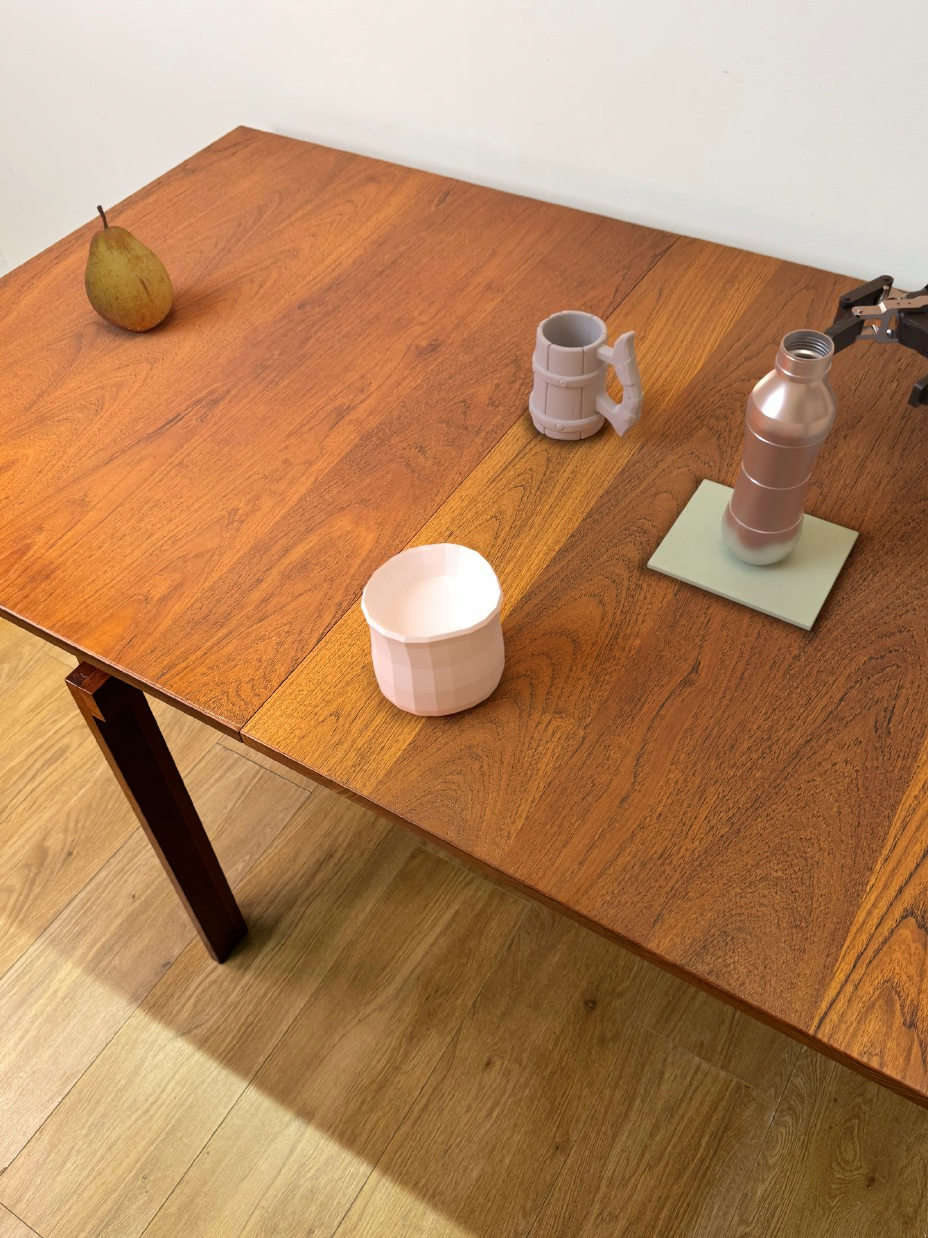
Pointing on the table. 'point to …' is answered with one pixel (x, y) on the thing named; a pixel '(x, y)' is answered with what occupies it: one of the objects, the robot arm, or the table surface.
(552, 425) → the mug
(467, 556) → the cup
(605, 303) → the table surface
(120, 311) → the fruit
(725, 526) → the metal bottle
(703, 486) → the mat
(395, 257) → the table surface
